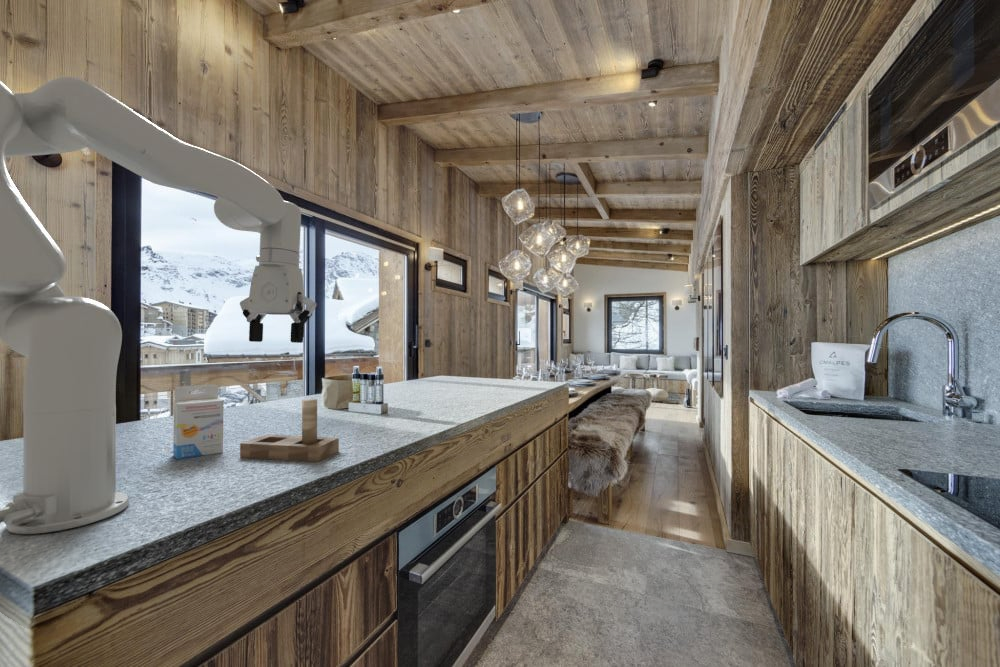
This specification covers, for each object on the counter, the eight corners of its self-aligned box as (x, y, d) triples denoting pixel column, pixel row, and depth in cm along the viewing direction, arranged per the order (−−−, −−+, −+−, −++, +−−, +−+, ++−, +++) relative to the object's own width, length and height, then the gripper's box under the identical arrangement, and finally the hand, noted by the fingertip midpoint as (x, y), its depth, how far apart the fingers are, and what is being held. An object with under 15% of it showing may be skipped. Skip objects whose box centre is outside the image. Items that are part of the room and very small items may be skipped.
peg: (311, 457, 92) (312, 401, 92) (299, 457, 93) (299, 400, 93) (320, 453, 95) (320, 399, 95) (307, 453, 96) (307, 398, 96)
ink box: (176, 460, 90) (176, 389, 90) (172, 455, 94) (173, 387, 94) (224, 452, 96) (224, 385, 96) (218, 448, 100) (219, 383, 100)
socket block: (318, 461, 89) (318, 447, 89) (240, 457, 92) (240, 443, 92) (338, 451, 97) (338, 437, 97) (266, 447, 100) (266, 434, 100)
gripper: (229, 257, 90) (225, 340, 89) (305, 256, 86) (301, 342, 86) (256, 265, 97) (253, 341, 96) (327, 264, 94) (323, 343, 93)
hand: (276, 342), depth 91 cm, fingers open, 9 cm apart
